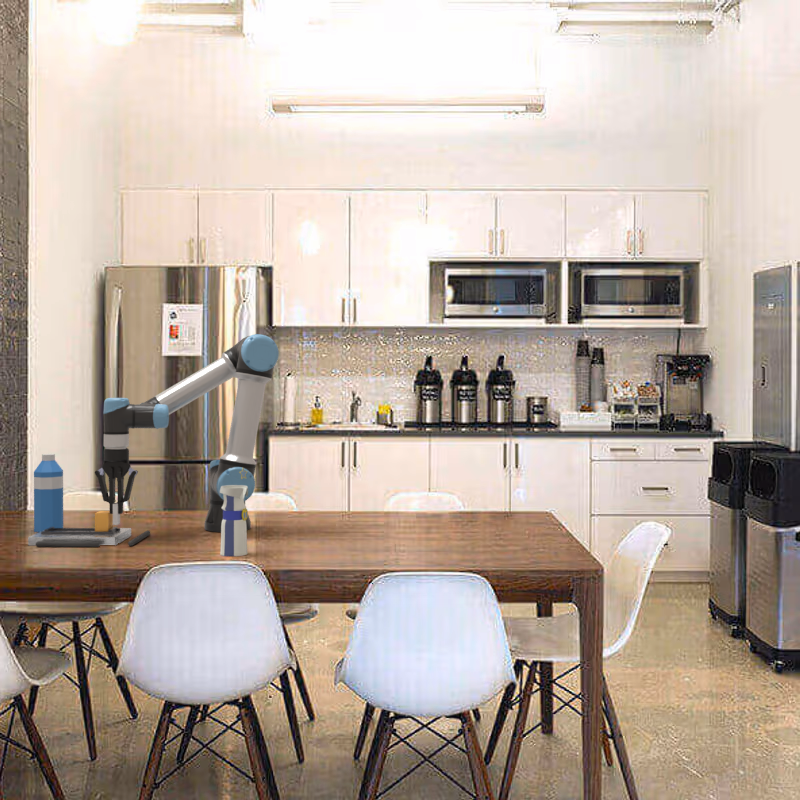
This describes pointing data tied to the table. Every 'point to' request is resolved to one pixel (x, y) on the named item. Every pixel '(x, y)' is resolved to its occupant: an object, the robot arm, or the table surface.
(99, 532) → the panel
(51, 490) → the water bottle
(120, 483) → the robot arm
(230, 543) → the white tall piece
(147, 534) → the rounded gray dowel
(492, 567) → the table surface
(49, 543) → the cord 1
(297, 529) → the table surface
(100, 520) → the matte orange cube
